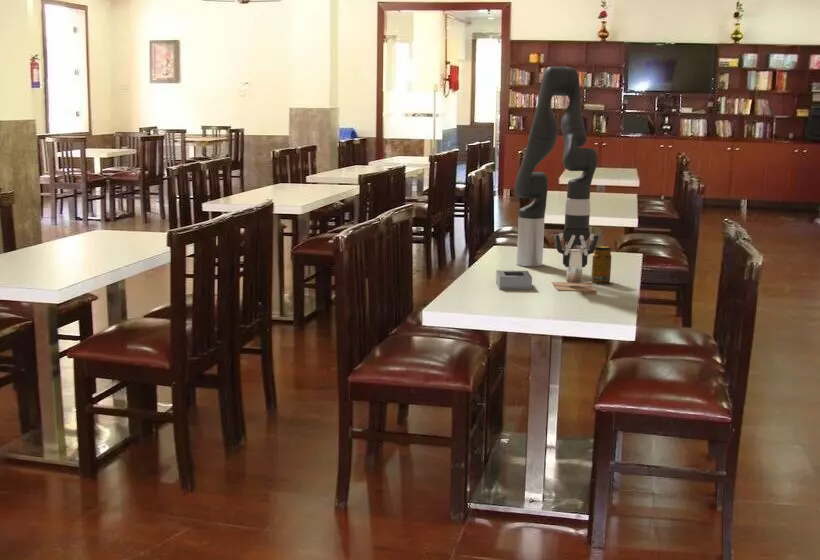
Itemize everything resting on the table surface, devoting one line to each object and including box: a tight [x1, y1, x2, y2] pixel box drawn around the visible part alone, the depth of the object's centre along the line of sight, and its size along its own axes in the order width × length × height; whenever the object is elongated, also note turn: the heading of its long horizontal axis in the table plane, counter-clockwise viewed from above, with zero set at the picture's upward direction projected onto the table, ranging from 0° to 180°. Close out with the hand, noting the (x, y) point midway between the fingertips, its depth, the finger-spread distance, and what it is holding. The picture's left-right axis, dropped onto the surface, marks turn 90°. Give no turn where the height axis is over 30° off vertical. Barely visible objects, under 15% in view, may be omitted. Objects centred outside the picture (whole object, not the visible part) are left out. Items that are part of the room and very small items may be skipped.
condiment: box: [587, 245, 620, 286], centre depth 302 cm, size 7×8×12 cm
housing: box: [495, 269, 533, 291], centre depth 290 cm, size 10×10×5 cm
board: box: [551, 281, 597, 295], centre depth 291 cm, size 12×12×1 cm
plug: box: [565, 248, 584, 283], centre depth 290 cm, size 5×5×10 cm
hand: (574, 266), depth 290 cm, fingers closed on plug, 4 cm apart
